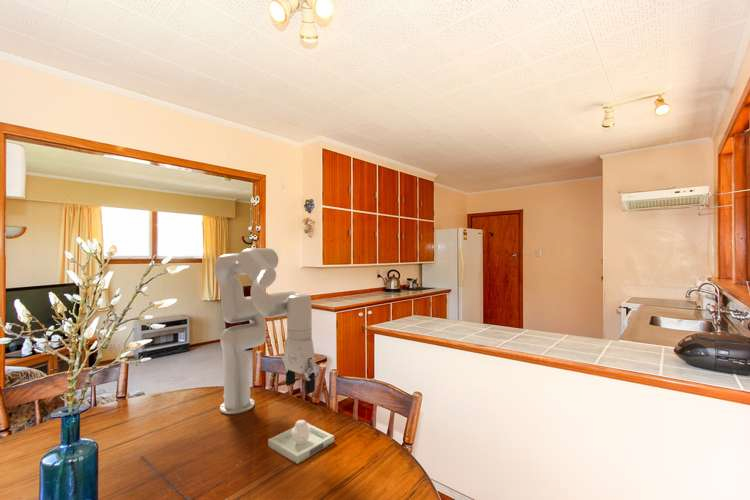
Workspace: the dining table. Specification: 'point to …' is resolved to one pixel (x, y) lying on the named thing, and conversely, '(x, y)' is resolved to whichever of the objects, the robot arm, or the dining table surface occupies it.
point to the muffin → (301, 432)
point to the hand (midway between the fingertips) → (300, 388)
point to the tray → (300, 452)
